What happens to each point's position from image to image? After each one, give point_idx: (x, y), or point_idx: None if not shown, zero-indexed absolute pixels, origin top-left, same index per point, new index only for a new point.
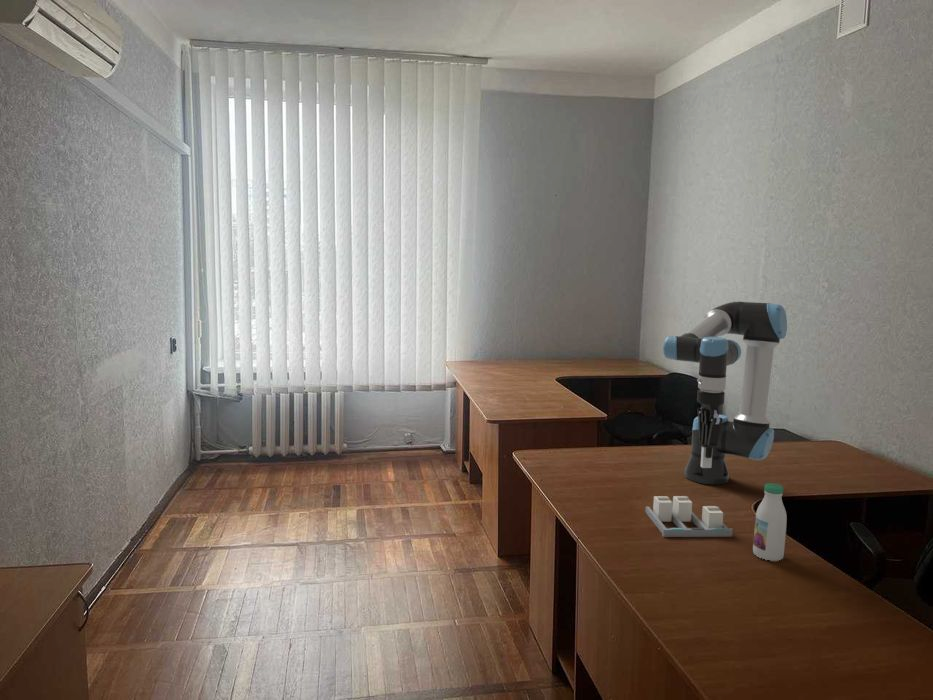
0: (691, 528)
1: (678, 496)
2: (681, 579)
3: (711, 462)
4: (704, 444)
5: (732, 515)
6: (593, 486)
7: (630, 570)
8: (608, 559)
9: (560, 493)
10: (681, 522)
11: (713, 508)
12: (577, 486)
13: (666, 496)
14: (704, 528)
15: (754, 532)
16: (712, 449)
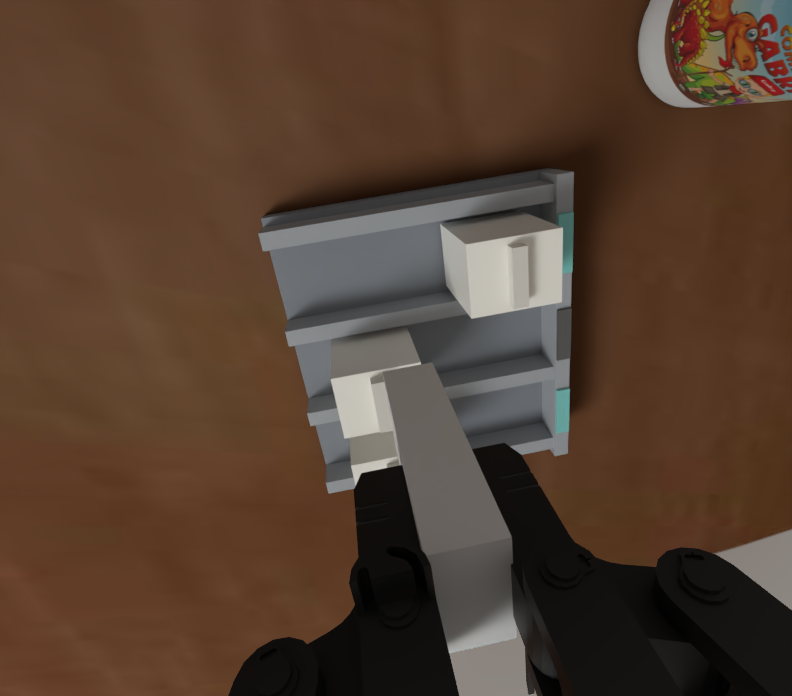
0: (564, 359)
1: (342, 415)
2: (788, 403)
3: (445, 393)
4: (532, 675)
5: (211, 56)
6: (47, 617)
7: (714, 513)
8: (649, 556)
9: (177, 686)
10: (485, 382)
11: (525, 275)
12: (76, 656)
13: (353, 466)
14: (557, 304)
15: (751, 101)
16: (494, 503)
